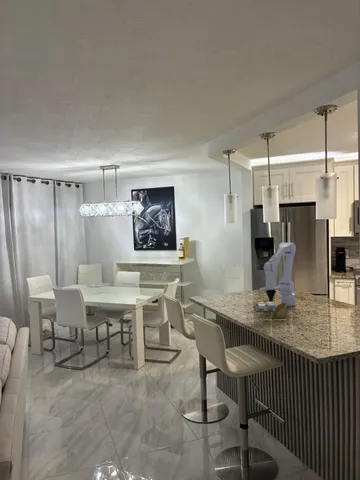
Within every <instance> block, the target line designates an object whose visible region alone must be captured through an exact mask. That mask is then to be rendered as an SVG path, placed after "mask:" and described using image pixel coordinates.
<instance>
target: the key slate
mask: <svg viewBox="0 0 360 480" xmlns="http://www.w3.org/2000/svg"><path fill="white" fill-rule="evenodd" d="M274 304H275V303H273V304H268V308H275V305H276V304H275V305H274Z"/></svg>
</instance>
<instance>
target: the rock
mask: <svg viewBox="0 0 360 480" xmlns="http://www.w3.org/2000/svg"><path fill="white" fill-rule="evenodd" d="M276 307H277V308H276V310H275V311H274V312H272V315H271V320H273V321H274V320H286V319H287V318H288V312H287V311H288V310H287V309H288V306H286V303H281V302H280V304H278V305H276Z"/></svg>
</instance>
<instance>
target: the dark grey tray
mask: <svg viewBox="0 0 360 480" xmlns="http://www.w3.org/2000/svg"><path fill="white" fill-rule="evenodd" d="M273 304H274V305H275V308H268V306H267V304H265V308H263V309H259V307H258V304H254V306H253V307H254V309H255V312H256V313H273V312H274V311H275V310H276V308H277V305H276V304H275V303H273Z"/></svg>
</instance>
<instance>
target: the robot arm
mask: <svg viewBox="0 0 360 480" xmlns="http://www.w3.org/2000/svg"><path fill="white" fill-rule="evenodd" d="M296 249H297V246H296V244H295V243H294V242H280V243H279V245H278V249H277V252H276V254H273V255H272V256H271V257H270V258H269V260H268V261H267V262H265V263H264V265H263V271H264V274H265V286H264V287H260V288H259V292H265V293H266V296H267V298H268V302H273V301H274V297H275V295H276V292H277V291H278V292H279V294H280V304H281V303H286V307H290V306H291V307H292V306H296V294H295V293H294V292H295V283H294V282H293V281H292V280H291V279H292V272H293V264H294V259H295V258H294V257H295V255H296V251H297V250H296ZM282 256H284V257H285V259H284V267H283V268H284V269H283V276H282V279H280V280H279V282H278V285H277V286H276V277H275V275H276V274H275V273H276V270H277V266H278V264H279V263H280V261H281V257H282ZM273 303H274V302H273Z"/></svg>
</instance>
